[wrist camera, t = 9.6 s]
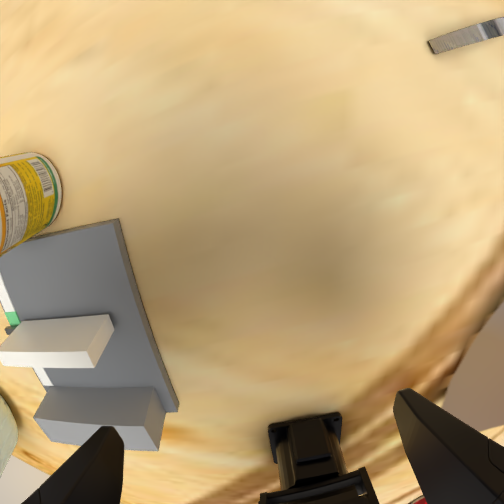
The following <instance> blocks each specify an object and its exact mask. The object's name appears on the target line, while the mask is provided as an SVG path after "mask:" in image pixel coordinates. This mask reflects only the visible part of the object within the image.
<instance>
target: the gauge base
mask: <svg viewBox="0 0 504 504" xmlns="http://www.w3.org/2000/svg"><path fill="white" fill-rule="evenodd" d="M0 303H1V305H2V307H3V310H4V312H5V315H6V317H7V319H8V321H9V323H10V326H18V325H19V324H20V323H21V322H22V321H32V320H46V319H59V318H72V317H83V316H94V315H105V314H109V317H110V319H111V322H112V324H113V327H114V332H113V333H112V335H111V337H110V339H109V341H108V343H107V345H106V347H105V349H104V351H103V352H102V354H101V356H100V358H99V360H98V362H97V364H96V366H95V368H38V367H32V368H33V370H34V371H35V373H36V375H37V377H38V378H39V380H40V382H41V383H42V385H43V387H44V388H45V390H46V392H47V394H46V395H45V397H44V399H43V401H42V402H41V404H40V406H39V408H38V410H37V411H36V413H35V415H34V417H33V418H34V420H35V421H36V422H37V424H38V425H39V426H40V428H41V429H42V430H43V432H44V433H45V434H46V435H47V437H48V438H49V439H50V440H51V441H52V442H58V443H65V444H71V445H79V446H82V445H83V444H84V443H85V442H86V441H87V440H88V439H89V438H90V437H91V436H92V435H93V434H94V433H95V432H96V431H97V430H98V429H99V428H100V427H101V426H113V427H115V429H116V430H117V432H118V433H119V435H120V436H121V438H122V439H123V441H124V450H139V451H159V446H160V440H161V435H162V430H163V424H164V419H165V414H166V412H178V407H179V402H178V400H177V397H176V395H175V392H174V390H173V387H172V385H171V382H170V380H169V377H168V375H167V372H166V370H165V367H164V364H163V362H162V359H161V356H160V354H159V351H158V348H157V346H156V343H155V340H154V337H153V334H152V331H151V328H150V326H149V323H148V320H147V317H146V314H145V311H144V307H143V304H142V301H141V298H140V295H139V292H138V288H137V285H136V282H135V278H134V275H133V272H132V268H131V265H130V261H129V257H128V254H127V250H126V246H125V243H124V239H123V235H122V231H121V227H120V223H119V219H114V220H109V221H104V222H99V223H95V224H90V225H85V226H81V227H76V228H72V229H67V230H63V231H58V232H54V233H50V234H46V235H41V236H37V237H33V238H29V239H27V240H26V241H24V242H23V243H21V244H20V245H18V246H17V247H15V248H13V249H12V250H10V251H9V252H7V253H6V254H4V255H3V256H1V257H0Z"/></svg>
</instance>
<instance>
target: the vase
mask: <svg viewBox="0 0 504 504" xmlns="http://www.w3.org/2000/svg"><path fill="white" fill-rule="evenodd" d="M17 441H18V429H17V424H16V422H15V419H14V417H13V414H12V412H11V410H10V408H9V406H8V405H7V403H6V402H5V400H4V399H3V397H2V396H1V395H0V477H1V475H2V473H3V470H4V469H5V466H6V464H7V462H8V460H9V458H10V456H11V454H12V452H13V450H14V448H15V446H16V444H17Z"/></svg>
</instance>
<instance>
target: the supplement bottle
mask: <svg viewBox="0 0 504 504" xmlns="http://www.w3.org/2000/svg"><path fill="white" fill-rule="evenodd" d="M61 195H62V191H61V184H60V179H59V176H58V174H57V171H56V170H55V168H54V166H53V165H52V164H51V162H50V161H49V160H48V159H46V158H45V157H44V156H42V155H40V154H37V153H31V152H29V153H21V154H16V155H10V156H5V157H0V257H1V256H3V255H4V254H6V253H7V252H9V251H10V250H12V249H13V248H15V247H17V246H18V245H20V244H21V243H23V242H24V241H26V240H27V239H29V238H31V237H32V236H34V235H36V234H37V233H39V232H40V231H42V230H43V229H45V228H46V227H48V226H49V225H50V224H51V223H52V222H53V221H54V219H55V218H56V216H57V214H58V211H59V208H60V204H61Z"/></svg>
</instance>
